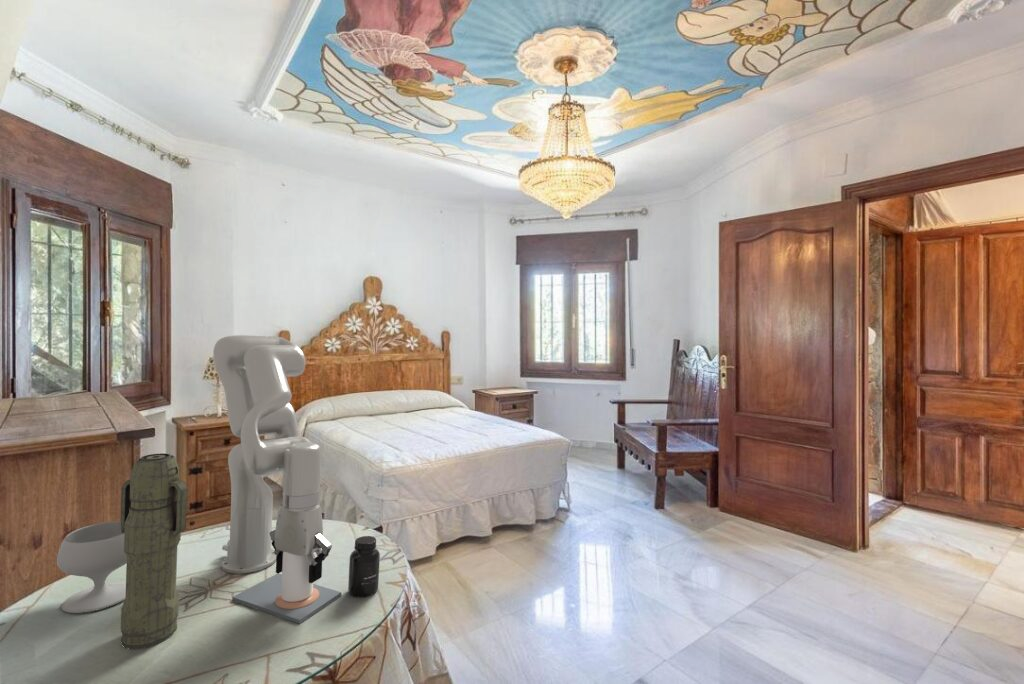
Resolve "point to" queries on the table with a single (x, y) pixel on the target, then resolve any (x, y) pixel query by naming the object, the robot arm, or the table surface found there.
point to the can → (295, 578)
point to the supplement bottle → (364, 567)
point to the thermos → (151, 549)
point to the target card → (270, 601)
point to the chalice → (94, 565)
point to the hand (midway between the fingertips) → (298, 575)
